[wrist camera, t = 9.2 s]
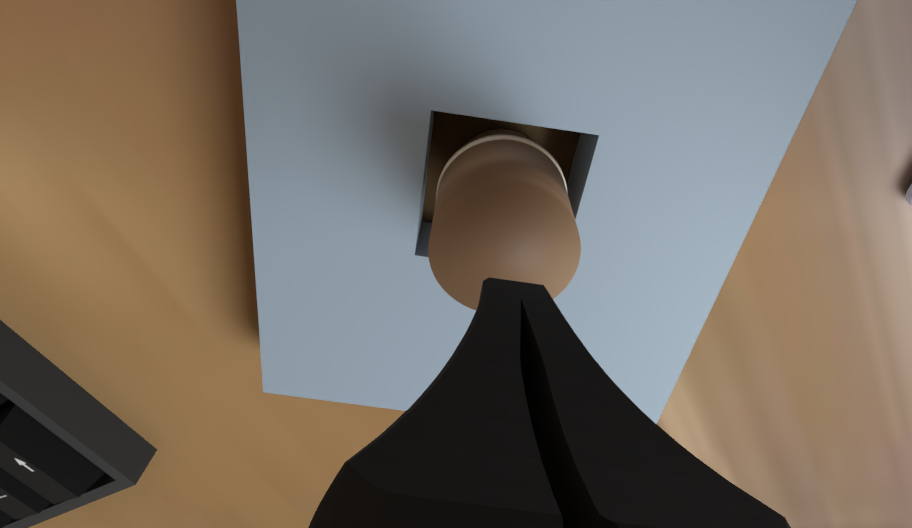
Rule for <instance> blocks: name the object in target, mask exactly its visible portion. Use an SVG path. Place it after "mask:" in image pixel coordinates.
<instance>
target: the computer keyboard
mask: <svg viewBox="0 0 912 528" xmlns="http://www.w3.org/2000/svg"><path fill="white" fill-rule="evenodd" d="M156 451H157V449H156V448H154V447H153V446H152V445H151V444H150V443H148V442H147V441H146V440H145V439H144V438H142V437H141V436H140V435H139V434H137V433H136V432H135V431H134V430H133V429H131V428H130V427H129V426H128V425H127V424H125V423H124V422H123V421H122V420H121V419H119V418H118V417H117V416H116V415H115V414H113V413H112V412H111V411H110V410H108V409H107V408H106V407H105V406H104V405H102V404H101V403H100V402H99V401H98V400H96V399H95V398H94V397H93V396H92V395H90V394H89V393H88V392H87V391H85V390H84V389H83V388H82V387H81V386H79V385H78V384H77V383H76V382H75V381H73V380H72V379H71V378H70V377H69V376H67V375H66V374H65V373H64V372H62V371H61V370H60V369H59V368H58V367H56V366H55V365H54V364H53V363H52V362H50V361H49V360H48V359H47V358H46V357H44V356H43V355H42V354H41V353H40V352H38V351H37V350H36V349H35V348H33V347H32V346H31V345H30V344H29V343H27V342H26V341H25V340H24V339H23V338H21V337H20V336H19V335H18V334H17V333H15V332H14V331H13V330H12V329H10V328H9V327H8V326H7V325H6V324H4V323H3V322H2V321H1V320H0V528H28V527H30V526H33V525H35V524H38V523H40V522H43V521H45V520H48V519H50V518H53V517H55V516H58V515H60V514H63V513H65V512H68V511H70V510H73V509H76V508H78V507H81V506H83V505H86V504H88V503H91V502H93V501H96V500H98V499H101V498H103V497H106V496H108V495H111V494H113V493H116V492H118V491H121V490H123V489H126V488H128V487H131V486H133V485H136V483H137V481H138V480H139V478H140V477H141V475H142V473H143V472H144V470H145V468H146V467H147V465H148V464H149V462H150V460H151V459H152V457H153V456H154V454H155V452H156Z"/></svg>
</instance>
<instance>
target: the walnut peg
mask: <svg viewBox="0 0 912 528" xmlns="http://www.w3.org/2000/svg"><path fill="white" fill-rule="evenodd" d="M580 254H581V242H580V236H579V232H578V228H577V225H576V221H575V218H574V214H573V211H572V208H571V204H570V201H569V197H568V193H567V185H566V181H565V178H564V175H563V172H562V170H561V168H560V166H559V164H558V162H557V161H556V160H555V158H554V157H553V156H552V155H551V154H550V153H549V152H548V151H547V150H546V149H545V148H543V147H542V146H540V145H539V144H537V143H536V142H535V141H534V140H532V139H531V138H529V137H528V136H526V135H524V134H522V133H519V132H516V131H513V130H509V129H492V130H488V131H485V132H483V133H481V134H479V135H477V136H475V137H473V138H472V139H470V140H469V141H468V142H466V143H465V144H464V145H463V146H462V147H461V148H460V149H459V150H458V151H457V152H456V153H455V154H454V155H453V156H452V157H451V158H450V159H449V160H448V162H447V163H446V165H445V166H444V168H443V170H442V172H441V174H440V177H439V180H438V185H437V190H436V204H435V210H434V215H433V221H432V227H431V232H430V238H429V245H428V256H429V262H430V266H431V269H432V272H433V274H434V276H435V278H436V280H437V282H438V283H439V285H440V286H441V287H442V288H443V290H444V291H445V292H446V293H447V294H448V295H449V296H451V297H452V298H453V299H455V300H456V301H457V302H459V303H461V304H462V305H464V306H466V307H468V308H471V309H473V310H477V307H478V304H479V299H480V294H481V288H482V283H483V281H484V280H485V279H487V278H489V277H491V278H498V279H505V280H512V281H519V282H526V283H533V284H540V285H544V286H545V288H546V289H547V291H548V292H549V294H550V295H551V297H552V298H553V299H554V298H555V297H556V296H558V295H559V294H560V293H561V292H562V291H563V290H564V289H565V288H566V287H567V285H568V284H569V283H570V281H571V280H572V278H573V276H574V274H575V272H576V270H577V267H578V264H579V260H580Z"/></svg>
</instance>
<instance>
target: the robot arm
mask: <svg viewBox="0 0 912 528" xmlns="http://www.w3.org/2000/svg"><path fill="white" fill-rule="evenodd" d="M906 200H907V202H908V203H909V204H911V205H912V184H911V185H910V187H909V188H908V190H907V193H906ZM309 528H791V527H790V526H789V524H788V522H787V521H786V519H785V517H783V516H782V515H780V514H779V513H777V512H775V511H774V510H772V509H771V508H769V507H768V506H766V505H765V504H763V503H762V502H760V501H758V500H757V499H755V498H754V497H752V496H751V495H749V494H748V493H746V492H744V491H743V490H741V489H740V488H738V487H737V486H735V485H734V484H732V483H731V482H729V481H728V480H726V479H725V478H723V477H722V476H721V475H719V474H718V473H717V472H715V471H714V470H713V469H711V468H710V467H709V466H707V465H706V464H704V463H703V462H702V461H700V460H699V459H698V458H696V457H695V456H694V455H693V454H691V453H690V452H689V451H687V450H686V449H685V448H684V447H682V446H681V445H680V444H679V443H677V442H676V441H675V440H674V439H673V438H672V437H670V436H669V435H668V434H667V433H666V432H665V431H664V430H662V429H661V428H660V427H659V426H658V425H657V424H655V423H654V422H653V421H652V420H651V419H650V418H649V417H648V416H647V415H646V414H645V413H643V412H642V411H641V410H640V409H639V408H638V407H637V406H636V405H635V404H634V403H633V402H632V401H631V400H630V399H629V398H628V397H627V395H626V394H625V393H624V392H623V391H622V390H621V389H620V388H619V387H618V386H617V385H616V384H615V383H614V382H613V381H612V380H611V378H610V377H609V376H608V375H607V374H606V373H605V371H604V370H603V369H602V368H601V367H600V365H599V364H598V363H597V362H596V360H595V359H594V358H593V357H592V355H591V354H590V353H589V352H588V350H587V349H586V347H585V346H584V345H583V343H582V342H581V340H580V339H579V338H578V336H577V335H576V334H575V332H574V331H573V329H572V328H571V326H570V325H569V323H568V322H567V320H566V319H565V317H564V316H563V314H562V313H561V311H560V310H559V308H558V306H557V305H556V303H555V302H554V300H553V298H552V297H551V295H550V294H549V292H548V291H547V289H546V288H545V286H544V285H540V284H533V283H526V282H519V281H512V280H505V279H498V278H491V277H489V278H487V279H485V280H484V281H483V283H482V288H481V294H480V299H479V304H478V307H477V310H476V312H475V314H474V317H473V319H472V321H471V323H470V325H469V327H468V329H467V331H466V333H465V335H464V336H463V338H462V340H461V341H460V343H459V345H458V346H457V348H456V350H455V351H454V353H453V354H452V356H451V357H450V359H449V360H448V362H447V363H446V365H445V366H444V367H443V369H442V370H441V371H440V373H439V374H438V375H437V377H436V378H435V379H434V381H433V382H432V383H431V384H430V385H429V386H428V388H427V389H426V390H425V391H424V392H423V393H422V395H421V396H420V397H419V398H418V399H417V400H416V401H415V402H414V403H413V405H412V406H411V407H410V408H409V409H408V410H407V411H406V412H404V413H403V414H402V415H401V416H400V417H399V418H398V419H397V420H396V421H395V422H394V423H393V424H392V425H391V426H390V427H389V428H387V429H386V430H385V431H384V432H383V433H382V434H381V435H380V436H378V437H377V438H376V439H375V440H373V441H372V442H371V443H370V444H368V445H367V446H366V447H364V448H363V449H362V450H360V451H359V452H358V453H357V454H355V455H354V456H353V457H351V458H350V459H349V460H347V461H346V462H345V463H344V465H343V466H342V468H341V469H340V471H339V473H338V474H337V476H336V477H335V479H334V480H333V482H332V484H331V485H330V487H329V489H328V490H327V492H326V494H325V495H324V497H323V499H322V501H321V502H320V504H319V506H318V508H317V510H316V512H315V514H314V516H313V519H312V521H311V523H310V525H309Z"/></svg>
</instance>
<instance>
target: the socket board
mask: <svg viewBox="0 0 912 528" xmlns="http://www.w3.org/2000/svg"><path fill="white" fill-rule="evenodd" d="M856 2H857V0H236V5H237V20H238V34H239V48H240V63H241V77H242V92H243V106H244V120H245V135H246V149H247V164H248V178H249V192H250V207H251V221H252V235H253V250H254V264H255V279H256V293H257V307H258V322H259V336H260V351H261V365H262V379H263V392H265V393H273V394H281V395H288V396H296V397H304V398H311V399H319V400H327V401H334V402H342V403H350V404H357V405H365V406H373V407H380V408H388V409H396V410H403V411H407V410H408V409H409V408H410V407H411V406H412V405H413V403H414V402H415V401H416V400H417V399H418V398H419V397H420V396H421V395H422V393H423V392H424V391H425V390H426V389H427V388H428V386H429V385H430V384H431V383H432V382H433V381H434V379H435V378H436V377H437V375H438V374H439V373H440V371H441V370H442V369H443V367H444V366H445V365H446V363H447V362H448V360H449V359H450V357H451V356H452V354H453V353H454V351H455V350H456V348H457V346H458V345H459V343H460V341H461V340H462V338H463V336H464V335H465V333H466V331H467V329H468V327H469V325H470V323H471V321H472V319H473V317H474V314H475V312H476V310H473V309H471V308H468V307H466V306H464V305H462V304H461V303H459V302H457V301H456V300H455V299H453V298H452V297H451V296H449V295H448V294H447V293H446V292H445V291H444V290H443V288H442V287H441V286H440V285H439V283H438V282H437V280H436V278H435V276H434V274H433V272H432V269H431V266H430V262H429V256H428V245H429V238H430V232H431V227H432V222H425V221H422V216H423V208H424V199H425V190H426V182H427V173H428V164H429V156H430V147H431V138H432V130H433V121H434V112H435V111H439V112H445V113H452V114H459V115H466V116H472V117H479V118H486V119H493V120H500V121H506V122H513V123H520V124H527V125H533V126H540V127H547V128H554V129H560V130H567V131H574V132H580V136H579V140H578V144H577V148H576V152H575V155H574V159H573V163H572V167H571V171H570V174H569V178H568V182H567V193H568V197H569V201H570V204H571V208H572V211H573V214H574V218H575V221H576V225H577V228H578V232H579V236H580V242H581V254H580V260H579V264H578V267H577V270H576V272H575V274H574V276H573V278H572V280H571V281H570V283H569V284H568V285H567V287H566V288H565V289H564V290H563V291H562V292H561V293H560V294H559V295H558V296H556V297H555V298H554V299H553V300H554V302H555V303H556V305H557V306H558V308H559V310H560V311H561V313H562V314H563V316H564V317H565V319H566V320H567V322H568V323H569V325H570V326H571V328H572V329H573V331H574V332H575V334H576V335H577V336H578V338H579V339H580V340H581V342H582V343H583V345H584V346H585V347H586V349H587V350H588V352H589V353H590V354H591V355H592V357H593V358H594V359H595V360H596V362H597V363H598V364H599V365H600V367H601V368H602V369H603V370H604V371H605V373H606V374H607V375H608V376H609V377H610V378H611V380H612V381H613V382H614V383H615V384H616V385H617V386H618V387H619V388H620V389H621V390H622V391H623V392H624V393H625V394H626V395H627V397H628V398H629V399H630V400H631V401H632V402H633V403H634V404H635V405H636V406H637V407H638V408H639V409H640V410H641V411H642V412H643V413H645V414H646V415H647V416H648V417H649V418H650V419H651V420H652V421H653V422H654V423H655V424H657V422H658V420H659V418H660V416H661V413H662V411H663V409H664V407H665V405H666V403H667V401H668V399H669V397H670V394H671V392H672V390H673V388H674V386H675V384H676V382H677V380H678V378H679V375H680V373H681V371H682V369H683V367H684V365H685V363H686V361H687V359H688V356H689V354H690V352H691V350H692V348H693V346H694V344H695V342H696V340H697V338H698V335H699V333H700V331H701V329H702V327H703V325H704V323H705V321H706V319H707V316H708V314H709V312H710V310H711V308H712V306H713V304H714V302H715V300H716V297H717V295H718V293H719V291H720V289H721V287H722V285H723V283H724V281H725V278H726V276H727V274H728V272H729V270H730V268H731V266H732V264H733V262H734V259H735V257H736V255H737V253H738V251H739V249H740V247H741V245H742V243H743V241H744V238H745V236H746V234H747V232H748V230H749V228H750V226H751V224H752V222H753V219H754V217H755V215H756V213H757V211H758V209H759V207H760V205H761V203H762V200H763V198H764V196H765V194H766V192H767V190H768V188H769V186H770V184H771V181H772V179H773V177H774V175H775V173H776V171H777V169H778V167H779V165H780V162H781V160H782V158H783V156H784V154H785V152H786V150H787V148H788V146H789V144H790V141H791V139H792V137H793V135H794V133H795V131H796V129H797V127H798V125H799V122H800V120H801V118H802V116H803V114H804V112H805V110H806V108H807V106H808V103H809V101H810V99H811V97H812V95H813V93H814V91H815V89H816V87H817V84H818V82H819V80H820V78H821V76H822V74H823V72H824V70H825V68H826V65H827V63H828V61H829V59H830V57H831V55H832V53H833V51H834V49H835V47H836V44H837V42H838V40H839V38H840V36H841V34H842V32H843V30H844V28H845V25H846V23H847V21H848V19H849V17H850V15H851V13H852V11H853V9H854V6H855V4H856Z"/></svg>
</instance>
